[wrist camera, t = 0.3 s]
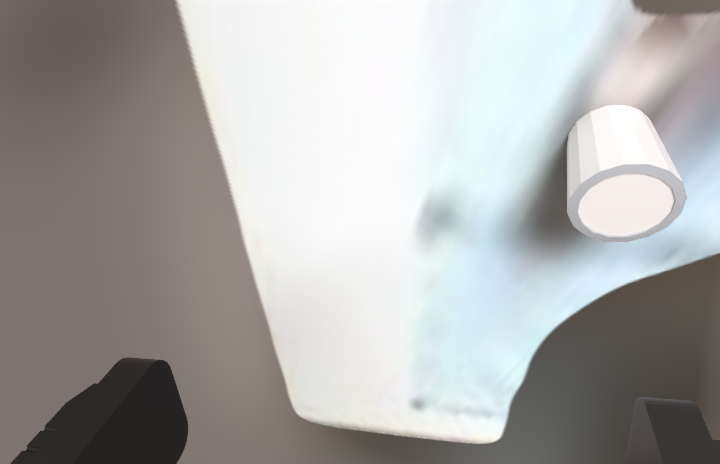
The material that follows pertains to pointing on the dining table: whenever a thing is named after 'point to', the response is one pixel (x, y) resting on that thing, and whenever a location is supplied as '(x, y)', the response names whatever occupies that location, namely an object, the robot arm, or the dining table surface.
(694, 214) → the dining table surface
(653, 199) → the white cup
